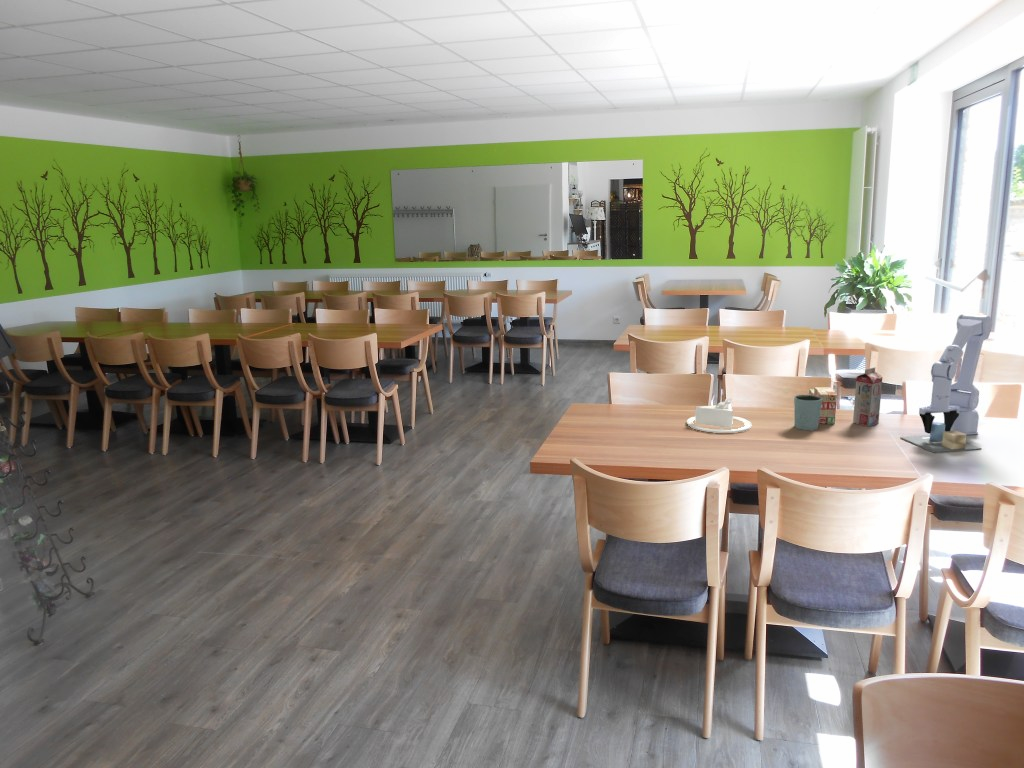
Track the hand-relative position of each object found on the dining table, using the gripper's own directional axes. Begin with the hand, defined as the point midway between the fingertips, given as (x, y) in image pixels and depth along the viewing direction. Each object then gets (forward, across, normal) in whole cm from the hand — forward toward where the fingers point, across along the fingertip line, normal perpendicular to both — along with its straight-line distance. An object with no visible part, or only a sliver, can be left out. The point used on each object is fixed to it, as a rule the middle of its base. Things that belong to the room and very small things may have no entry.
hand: (937, 432), depth 273 cm
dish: (+4, +66, -38) cm, 76 cm away
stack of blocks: (+4, +21, -40) cm, 45 cm away
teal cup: (+4, +35, -27) cm, 44 cm away
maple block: (+3, 0, +9) cm, 9 cm away
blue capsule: (+3, 0, 0) cm, 3 cm away
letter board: (+3, +1, +3) cm, 5 cm away
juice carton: (+4, +10, -27) cm, 29 cm away
